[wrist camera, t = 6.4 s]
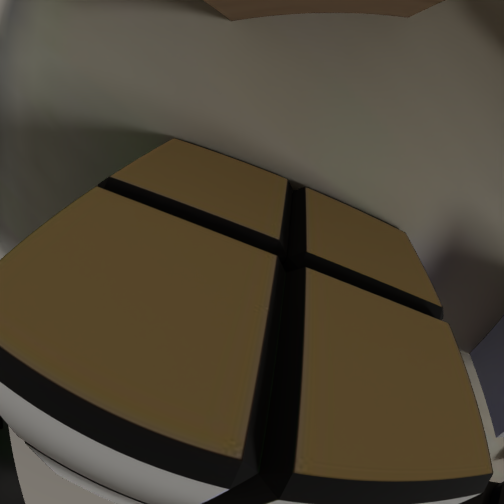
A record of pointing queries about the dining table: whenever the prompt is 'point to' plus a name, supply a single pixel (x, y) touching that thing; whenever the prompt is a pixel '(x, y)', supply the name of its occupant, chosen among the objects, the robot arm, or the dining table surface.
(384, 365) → the puzzle cube
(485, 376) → the slate grey block
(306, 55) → the dining table surface
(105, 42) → the dining table surface
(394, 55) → the dining table surface
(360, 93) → the dining table surface
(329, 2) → the walnut block
